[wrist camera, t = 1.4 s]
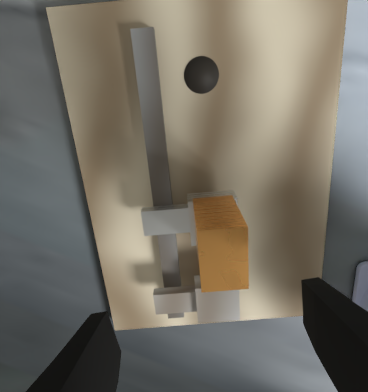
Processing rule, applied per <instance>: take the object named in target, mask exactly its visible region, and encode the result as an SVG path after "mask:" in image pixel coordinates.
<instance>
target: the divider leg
mask: <svg viewBox="0 0 368 392" xmlns="http://www.w3.org/2000/svg"><path fill="white" fill-rule="evenodd" d="M187 201H188V204H177V205H165V206H154V207H142V210H141V217H142V224H143V231H144V236H152V235H164V234H176V233H188V232H190V236H191V246H197V256H198V265H199V274H200V284H201V293H203V292H216V291H228V290H241V289H249V263H248V226H247V224H246V222H245V220H244V218H243V216H242V214H241V212H240V210H239V208H238V198H237V196H236V194H235V192H234V190H226V191H214V192H203V193H191V194H187Z"/></svg>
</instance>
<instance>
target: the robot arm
mask: <svg viewBox="0 0 368 392" xmlns="http://www.w3.org/2000/svg"><path fill="white" fill-rule="evenodd" d="M301 284H302V304H303V324H304V326H305V329H306V331H307V333H308V336H309V338H310V341H311V343H312V345H313V347H314V350H315V352H316V354H317V355H318V357H319V359H320V361H321V363H322V364H323V366H324V368H325V370H326V372H327V373H328V375H329V377H330V379H331V380H332V382H333V384H334V386H335V387H336V389H337V391H338V392H368V261H366V262H361V263H360V264H358V266H357V269H356V276H355V283H354V290H353V297H352V301H351V300H350V299H349V298H347V297H346V296H344V295H343V294H342V293H340V292H339V291H337V290H336V289H334V288H333V287H332V286H330V285H329V284H327V283H326V282H325V281H323V280H322V279H320V278H319V277H316V278H310V279H304V280H301ZM120 359H121V350H120V347H119V344H118V342H117V339H116V336H115V333H114V330H113V327H112V324H111V321H110V318H109V315H108V312H107V311H106V312H100V313H94V314H91V315H90V316H89V317H88V318H87V320H86V321H85V322H84V323H83V325H82V326H81V327H80V328H79V330H78V331H77V332H76V333H75V335H74V336H73V337H72V338H71V340H70V341H69V342H68V343H67V344H66V346H65V347H64V348H63V349H62V351H61V352H60V353H59V354H58V355H57V357H56V358H55V359H54V360H53V361H52V363H51V364H50V365H49V366H48V367H47V368H46V369H45V371H44V372H43V373H42V374H41V375H40V376H39V377H38V378H37V380H36V381H35V382H34V383H33V384H32V385H31V386H30V387H29V389H28V390H27V391H26V392H116V389H117V384H118V377H119V369H120Z"/></svg>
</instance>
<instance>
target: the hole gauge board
mask: <svg viewBox="0 0 368 392" xmlns="http://www.w3.org/2000/svg"><path fill="white" fill-rule="evenodd" d="M347 2H348V0H119V1H109V2H98V3H88V4H77V5H67V6H56V7H46V11H47V15H48V20H49V25H50V29H51V34H52V39H53V43H54V48H55V53H56V57H57V62H58V67H59V71H60V76H61V81H62V85H63V90H64V95H65V99H66V104H67V109H68V113H69V118H70V123H71V127H72V132H73V137H74V141H75V146H76V151H77V155H78V160H79V165H80V169H81V174H82V179H83V183H84V188H85V193H86V197H87V202H88V207H89V211H90V216H91V221H92V225H93V230H94V235H95V239H96V244H97V249H98V253H99V258H100V263H101V268H102V272H103V277H104V282H105V286H106V291H107V296H108V300H109V305H110V310H111V314H112V319H113V324H114V328H115V330H127V329H139V328H152V327H165V326H178V325H191V324H204V323H216V322H229V321H242V320H255V319H268V318H280V317H293V316H303V304H302V284H301V280H304V279H310V278H316V277H319V278H320V279H322V269H323V258H324V248H325V237H326V226H327V216H328V205H329V194H330V184H331V173H332V162H333V152H334V141H335V130H336V120H337V109H338V98H339V88H340V77H341V66H342V56H343V45H344V34H345V24H346V13H347ZM226 190H234V192H235V194H236V196H237V198H238V208H239V210H240V212H241V214H242V216H243V218H244V220H245V222H246V224H247V226H248V263H249V289H241V290H228V291H216V292H203V293H201V284H200V274H199V265H198V256H197V246H191V236H190V232H188V233H176V234H164V235H152V236H144V231H143V224H142V217H141V210H142V207H154V206H165V205H177V204H188V201H187V194H191V193H203V192H214V191H226Z"/></svg>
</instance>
